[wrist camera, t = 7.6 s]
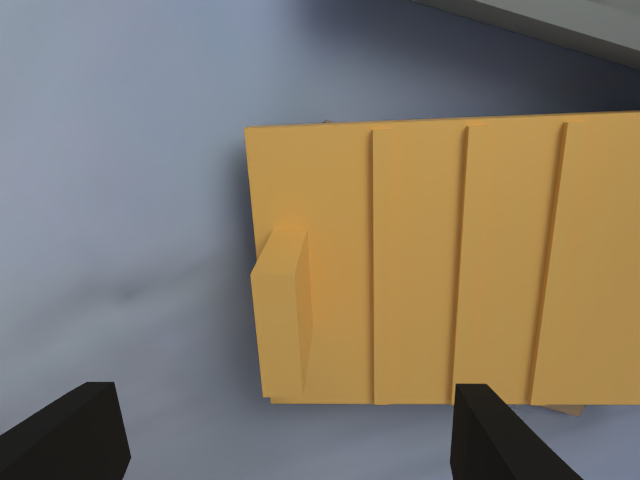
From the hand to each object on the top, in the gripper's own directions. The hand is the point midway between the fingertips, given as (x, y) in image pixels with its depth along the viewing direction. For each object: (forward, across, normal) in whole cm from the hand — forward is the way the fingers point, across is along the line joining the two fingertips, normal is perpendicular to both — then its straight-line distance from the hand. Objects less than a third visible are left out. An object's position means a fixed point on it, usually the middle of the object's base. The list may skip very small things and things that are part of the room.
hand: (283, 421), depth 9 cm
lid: (+9, -6, 0) cm, 11 cm away
